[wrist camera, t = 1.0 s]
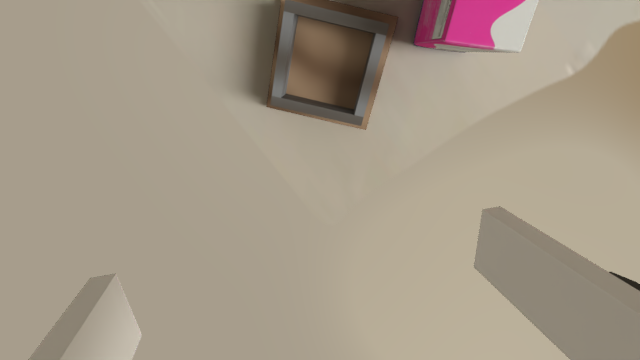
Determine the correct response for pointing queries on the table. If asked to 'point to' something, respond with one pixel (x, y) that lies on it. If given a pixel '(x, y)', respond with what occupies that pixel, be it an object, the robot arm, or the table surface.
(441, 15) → the supplement box
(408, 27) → the table surface
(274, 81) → the socket
